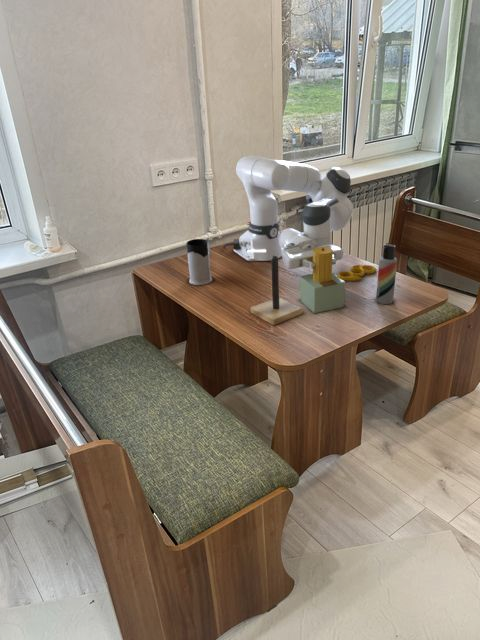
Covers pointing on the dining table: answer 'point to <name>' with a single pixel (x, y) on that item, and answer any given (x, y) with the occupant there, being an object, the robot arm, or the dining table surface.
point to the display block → (321, 294)
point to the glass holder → (199, 261)
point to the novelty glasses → (356, 276)
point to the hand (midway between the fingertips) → (323, 264)
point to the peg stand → (275, 302)
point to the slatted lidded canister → (323, 266)
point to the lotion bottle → (386, 275)
